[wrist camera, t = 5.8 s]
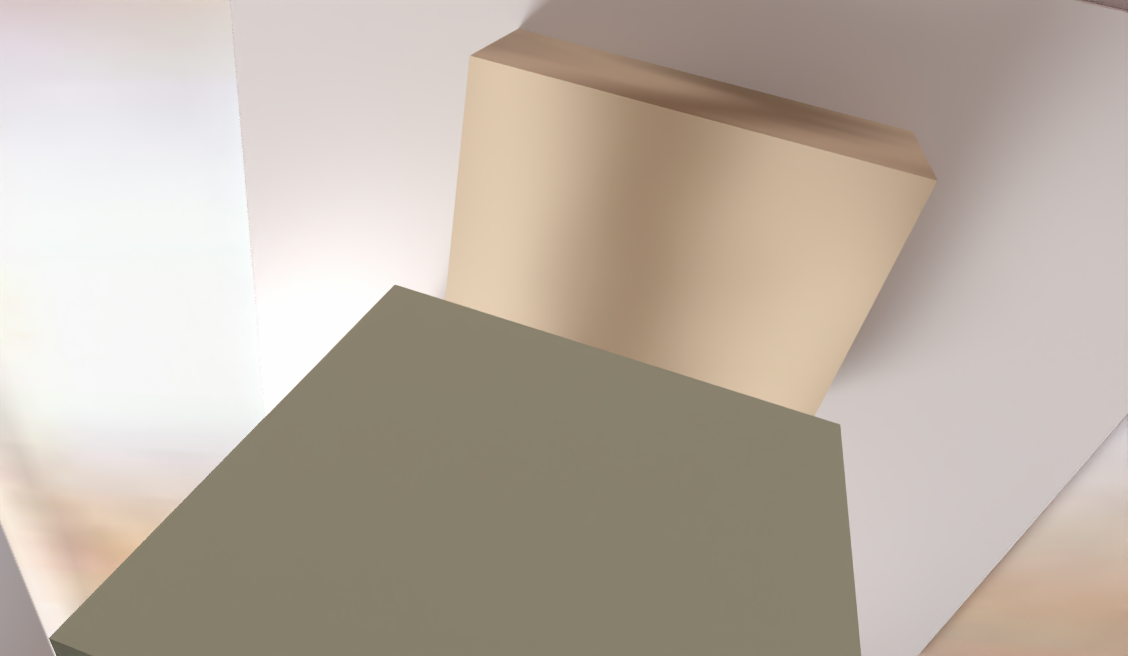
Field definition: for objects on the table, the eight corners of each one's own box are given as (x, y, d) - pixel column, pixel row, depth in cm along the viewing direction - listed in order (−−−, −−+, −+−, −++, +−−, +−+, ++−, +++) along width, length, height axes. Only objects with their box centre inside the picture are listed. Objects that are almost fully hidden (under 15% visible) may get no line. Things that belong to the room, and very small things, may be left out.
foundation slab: (914, 131, 15) (937, 180, 13) (781, 407, 20) (779, 481, 17) (518, 28, 16) (469, 55, 14) (479, 313, 21) (437, 370, 18)
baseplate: (1393, 72, 13) (1416, 80, 13) (902, 655, 24) (904, 671, 24) (230, -198, 16) (212, -201, 15) (277, 438, 27) (268, 448, 27)
